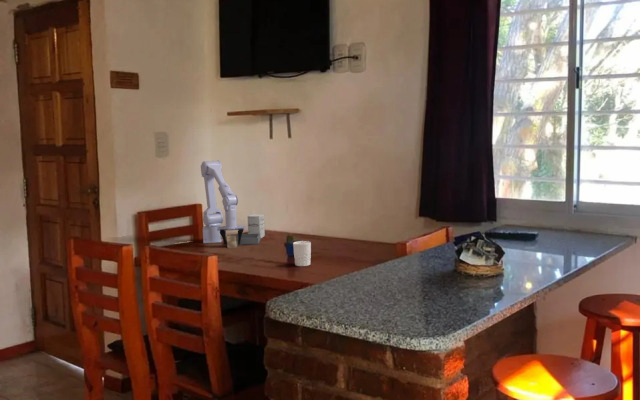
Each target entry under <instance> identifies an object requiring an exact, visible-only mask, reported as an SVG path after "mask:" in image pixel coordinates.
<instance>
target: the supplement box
mask: <svg viewBox="0 0 640 400" xmlns="http://www.w3.org/2000/svg"><path fill="white" fill-rule="evenodd" d="M265 229H266V228H265V214H263V213H262V214H258V213H252V214H249V215H247V234H254V233H260V235H261V239H262V238H263V237H265V235H266V234H265V232H266V231H265Z"/></svg>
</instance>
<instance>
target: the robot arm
mask: <svg viewBox="0 0 640 400" xmlns="http://www.w3.org/2000/svg"><path fill="white" fill-rule="evenodd" d="M222 165H223V164H222V162H221V160H207V161H202V162H201V165H200V173H201V177H202V178H203V180H204V189H205V198H206V205H207V208H206V209H205V210H204V211H203V212H202V222H203V225H204V226H202V242H203V244H212V243H213V244H217V243H219V244H220V243H222V242H223V244H224V246H225V245H227V235H226V234H227V233H226V231H237V234H238V244H240V240H241V236H242V234H244V231H246V230H247V228H246V225H238V220H237V219H238V218H237V217H238V216H237V206H238V203H239V198H238V195H237V194H235V193H234V192H233V191H232V188H231V187H230V184H229V183H226V181H225V178H224V175H223V173H222V171H223V166H222ZM214 179H215V180H214ZM215 181H216V182H217V184H218V187H217V188H218V190H219V193H220V195H221V198H222V202H221V203H222V205H223V210H224V214H225V216H224V215H223V212H222V210H221V208H219V207H218V206H217V196H216V195H217V194H216V189H215V188H216V187H215ZM224 217H225V220H224ZM224 221H225V225H222V224H223V223H224Z"/></svg>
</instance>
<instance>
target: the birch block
mask: <svg viewBox="0 0 640 400" xmlns="http://www.w3.org/2000/svg"><path fill="white" fill-rule="evenodd" d="M226 245H227V248H228V249H231V248H232V249H233V248H238V245H237V235H231V234H228V235H226Z"/></svg>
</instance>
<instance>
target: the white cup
mask: <svg viewBox="0 0 640 400" xmlns="http://www.w3.org/2000/svg"><path fill="white" fill-rule="evenodd" d="M292 246H293V255H294V265H295V266H297V267H307V266H310V265H311V257H312V255H311V253H312V248H311V247H312V242H311V241H309V240H299V241H294V242H292Z"/></svg>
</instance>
